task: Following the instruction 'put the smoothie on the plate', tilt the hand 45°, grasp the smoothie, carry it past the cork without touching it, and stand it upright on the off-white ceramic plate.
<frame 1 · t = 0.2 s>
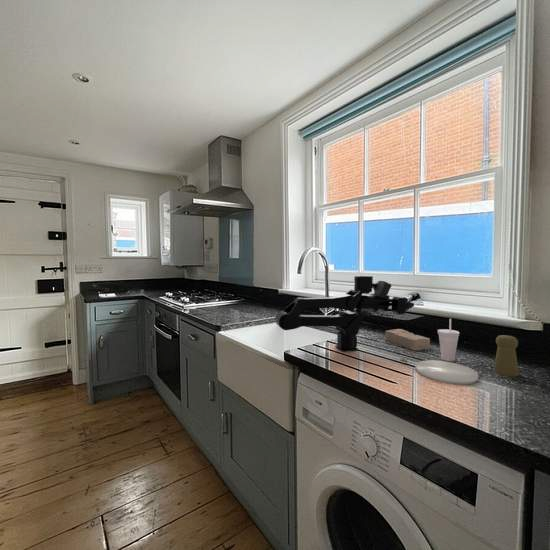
hand: (405, 303, 116), 17 cm above the table, tool horizontal, fingers open, 9 cm apart
brick: (406, 345, 118), on the table
smoothie: (447, 360, 99), on the table
plate: (445, 373, 87), on the table
cork: (505, 373, 87), on the table
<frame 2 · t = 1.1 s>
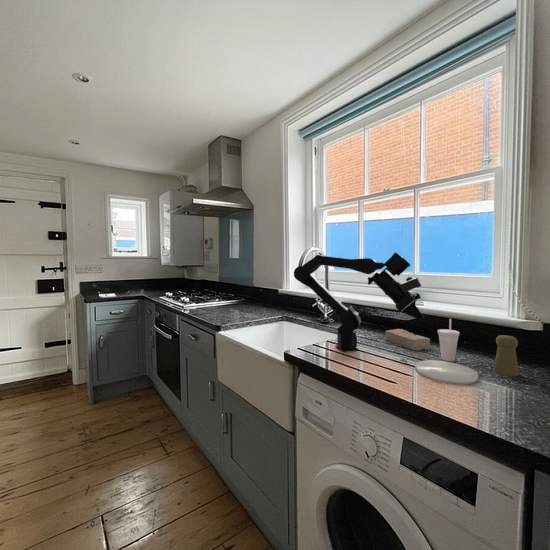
hand: (422, 317, 102), 14 cm above the table, tool tilted 45°, fingers open, 9 cm apart
nothing on the table moved.
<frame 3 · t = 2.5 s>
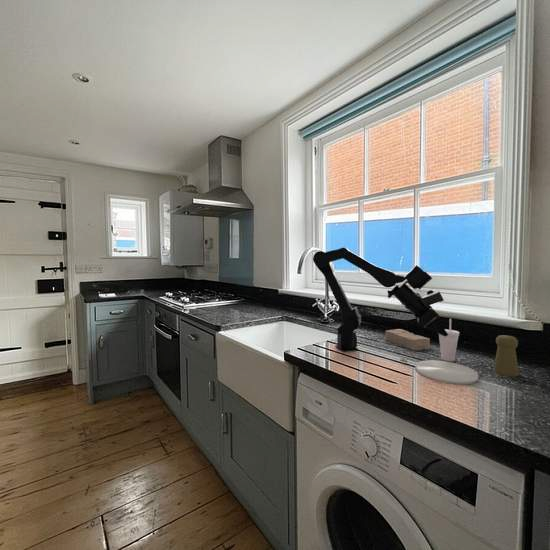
hand: (444, 332, 99), 9 cm above the table, tool tilted 45°, fingers open, 9 cm apart
nothing on the table moved.
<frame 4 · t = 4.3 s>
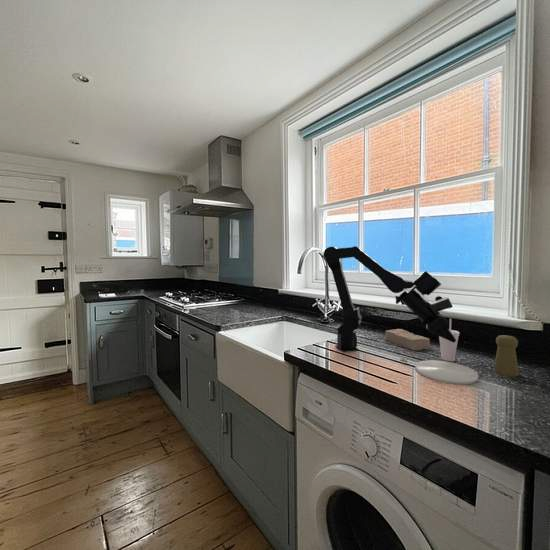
hand: (453, 339, 98), 7 cm above the table, tool tilted 45°, fingers closed on smoothie, 6 cm apart
smoothie: (447, 360, 99), on the table, touching gripper
everything else where it was.
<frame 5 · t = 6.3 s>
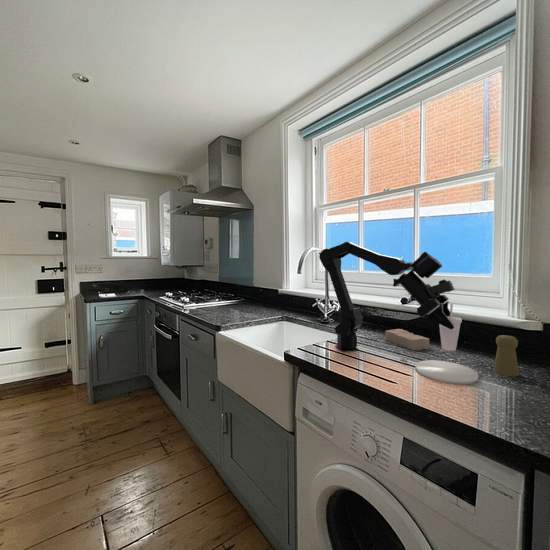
hand: (454, 326, 89), 13 cm above the table, tool tilted 45°, fingers closed on smoothie, 6 cm apart
smoothie: (448, 349, 90), point 6 cm above the table, touching gripper
everything else where it was.
when the fingers open (9 cm above the table, at t = 8.5 s): smoothie stays where it is, resting on plate.
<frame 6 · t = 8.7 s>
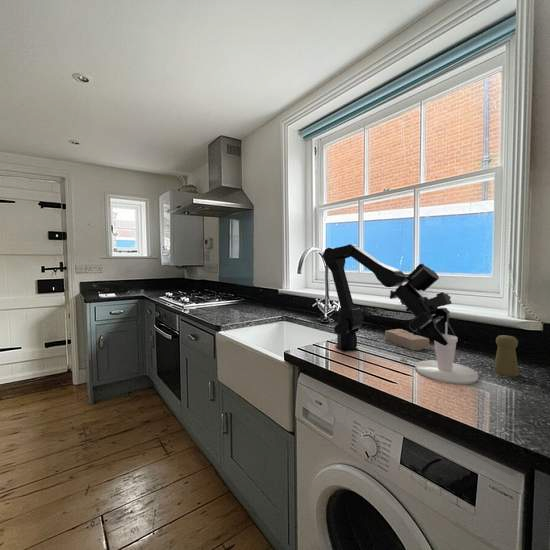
hand: (451, 342, 85), 10 cm above the table, tool tilted 45°, fingers open, 8 cm apart
smoothie: (444, 369, 87), point 1 cm above the table, touching plate
everything else where it was.
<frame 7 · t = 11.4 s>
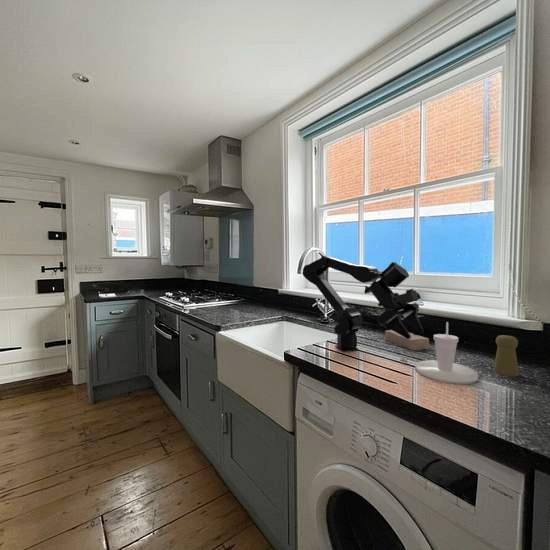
hand: (416, 335, 93), 10 cm above the table, tool tilted 40°, fingers open, 9 cm apart
nothing on the table moved.
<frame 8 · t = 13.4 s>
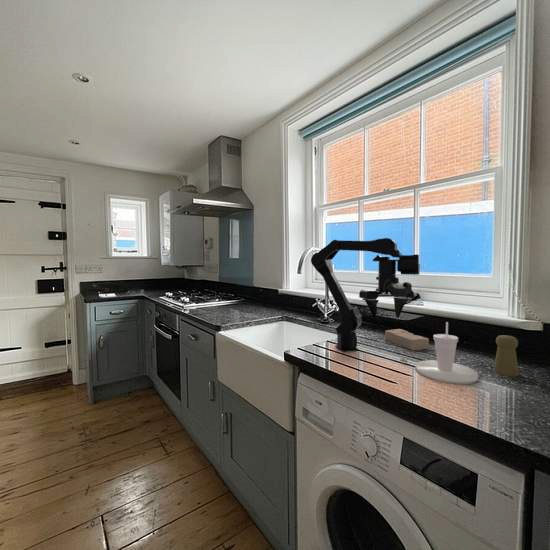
hand: (386, 318, 104), 13 cm above the table, tool pointing down, fingers open, 9 cm apart
nothing on the table moved.
at the end: smoothie inside the target area on the plate (0.2 cm from its centre), point 1.0 cm above the plate's base; smoothie tilted 0°; cork moved 0.2 cm from its start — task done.
